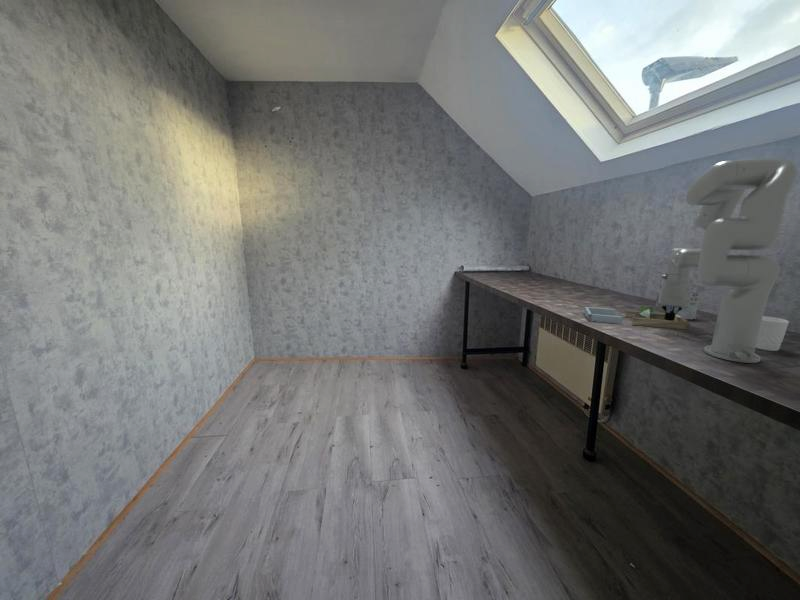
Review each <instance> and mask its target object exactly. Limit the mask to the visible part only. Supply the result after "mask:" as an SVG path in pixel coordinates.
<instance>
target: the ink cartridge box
mask: <svg viewBox="0 0 800 600" xmlns="http://www.w3.org/2000/svg"><path fill="white" fill-rule="evenodd" d="M700 296H701V292H697V291H694V290H691V300H690V305H689V306H688V309H683V310H680V311H678V312H677V313H676V314H677V315H679V316H680V317H682V318H684V319H685V320H693V319H695V320H696V316H697V311H698V305H699V301H700ZM672 307H673V306H670V311H671V310H672ZM665 312H666V311H665V310H664V313H665Z"/></svg>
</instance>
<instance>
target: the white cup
mask: <svg viewBox="0 0 800 600" xmlns="http://www.w3.org/2000/svg"><path fill="white" fill-rule="evenodd" d="M789 323H790V321H789V320H787V319H784V318H779V317H774V316H766V315H763V319H762V323H761V327H760V331H759V335H758V340H757V344H756V348H755V349H759V350H763V351H768V352H769V351H770V352H778V351H779V350H780V347H781V344H782V343H783V340H784V338H785V335H786V333H787V332H786V331H787V329H788V326H789Z"/></svg>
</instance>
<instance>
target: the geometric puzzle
mask: <svg viewBox="0 0 800 600" xmlns="http://www.w3.org/2000/svg"><path fill="white" fill-rule="evenodd" d="M639 309H640V310H638V311H639V312H640V311H641V312H640V313H638V314H636V315H641V318H648V319H652V317H653V316H654V317H655V316H656V317H657V315H652V312H654V309H653V307H651V306H650V307H649V306H648V307H647V306H640V307H639ZM637 317H638V316H637ZM639 317H640V316H639Z"/></svg>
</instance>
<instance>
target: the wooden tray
mask: <svg viewBox="0 0 800 600" xmlns="http://www.w3.org/2000/svg"><path fill="white" fill-rule="evenodd" d="M639 311H640V312H641V310H630V309H629V310H625V313H624V317H625V318H631V319H632V320H631V325H633V326H641V327H651V328H652V327H654V328H661V329H662V328H664V329H673V330H674V329H675V330H683V331H684V330H686V331H690V326H691V322H690V321H689V320H688V319H684V318H682V317H680V316H679V315H677V314H675V319H674V320H673V321H672V320H665V319H664V318H665V312H656V311H655V312H654V311H653V312H652V315H657V317H656V316H655V317H654V316H653V317H652V319H648V318H641V315H636V314H638V313H640V312H639ZM637 316H638V317H637ZM639 316H640V317H639Z"/></svg>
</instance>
